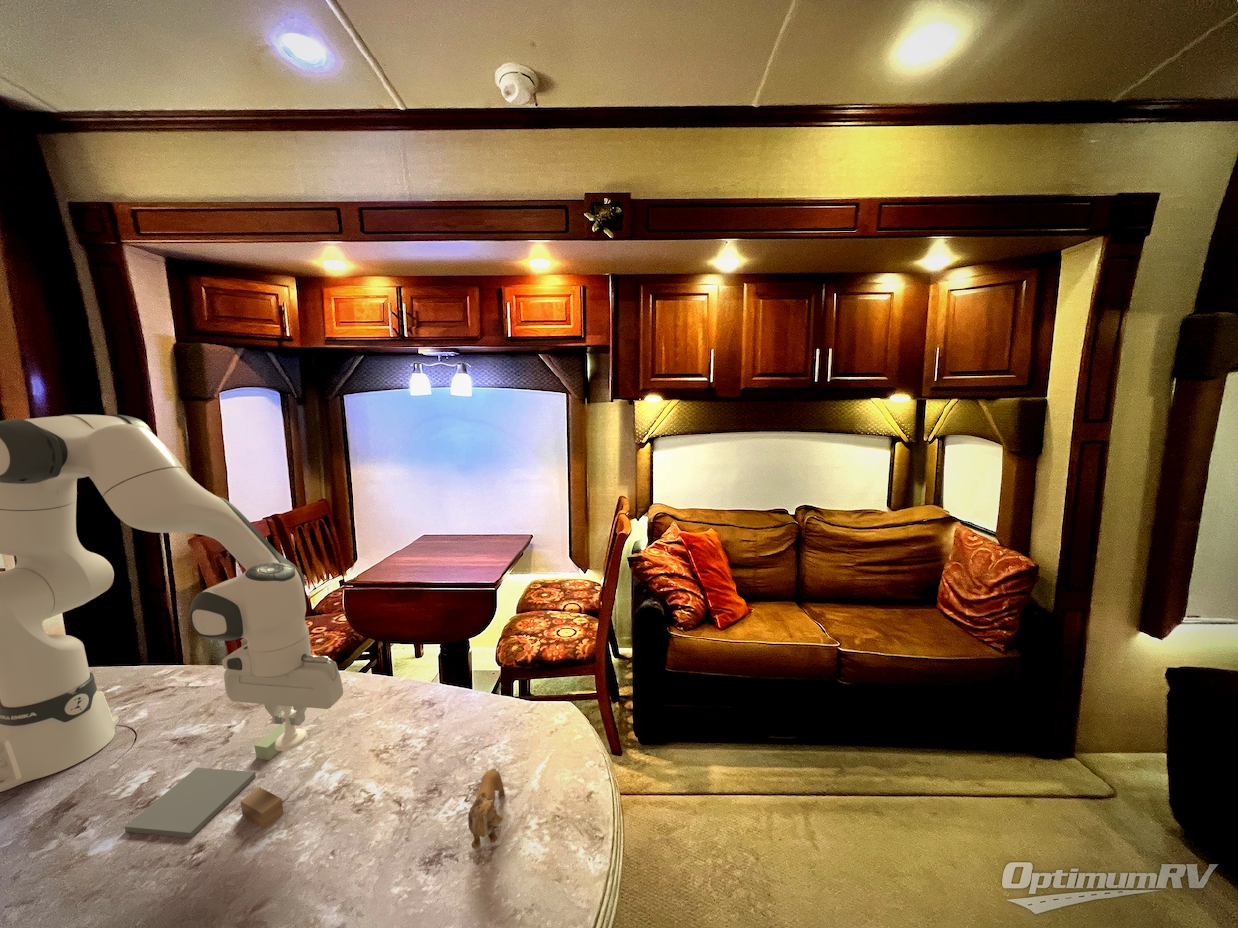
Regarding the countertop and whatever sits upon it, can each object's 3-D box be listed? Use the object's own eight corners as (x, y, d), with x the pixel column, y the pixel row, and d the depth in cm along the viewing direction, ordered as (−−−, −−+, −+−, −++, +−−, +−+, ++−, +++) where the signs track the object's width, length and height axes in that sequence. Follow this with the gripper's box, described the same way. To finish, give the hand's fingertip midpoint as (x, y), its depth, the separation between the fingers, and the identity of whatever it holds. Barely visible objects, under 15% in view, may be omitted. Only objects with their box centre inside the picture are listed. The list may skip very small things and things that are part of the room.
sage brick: (269, 760, 91) (267, 747, 90) (256, 758, 91) (254, 745, 91) (296, 738, 96) (294, 725, 96) (283, 736, 97) (282, 723, 97)
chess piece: (291, 753, 83) (285, 702, 81) (267, 748, 84) (261, 699, 82) (313, 733, 88) (308, 685, 86) (291, 729, 89) (286, 681, 87)
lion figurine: (505, 862, 71) (502, 811, 69) (468, 870, 69) (464, 819, 68) (505, 783, 85) (502, 739, 83) (475, 789, 84) (471, 745, 82)
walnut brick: (242, 816, 79) (240, 800, 78) (262, 801, 82) (259, 786, 81) (264, 828, 77) (262, 813, 76) (283, 813, 79) (281, 798, 79)
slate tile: (125, 831, 76) (124, 826, 76) (197, 771, 88) (196, 767, 88) (191, 837, 75) (190, 832, 75) (255, 776, 87) (255, 771, 87)
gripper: (347, 647, 85) (354, 714, 87) (245, 640, 87) (254, 706, 89) (322, 667, 79) (330, 739, 81) (212, 659, 81) (223, 730, 83)
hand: (289, 722), depth 85 cm, fingers closed on chess piece
